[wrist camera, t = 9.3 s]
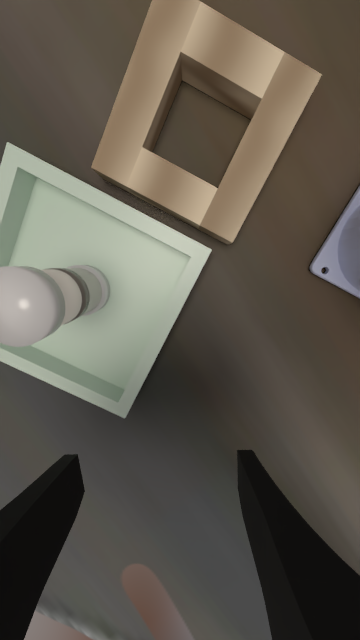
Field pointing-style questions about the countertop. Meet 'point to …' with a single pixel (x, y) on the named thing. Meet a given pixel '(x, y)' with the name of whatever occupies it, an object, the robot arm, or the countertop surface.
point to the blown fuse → (47, 300)
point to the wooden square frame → (221, 84)
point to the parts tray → (112, 260)
